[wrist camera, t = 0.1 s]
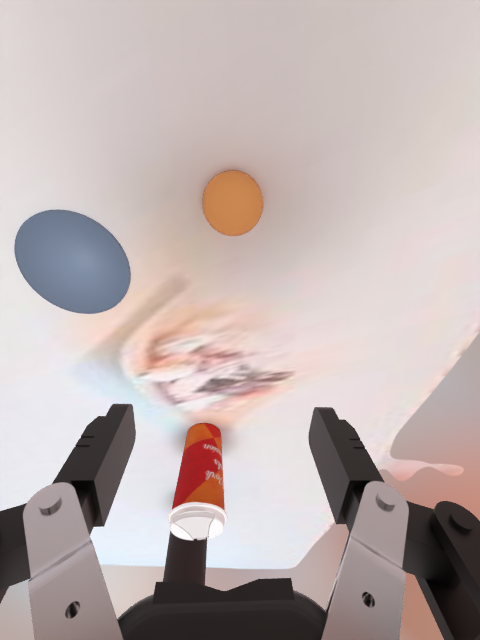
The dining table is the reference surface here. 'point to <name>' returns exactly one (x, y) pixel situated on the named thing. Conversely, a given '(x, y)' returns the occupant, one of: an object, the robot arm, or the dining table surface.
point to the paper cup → (199, 486)
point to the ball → (232, 203)
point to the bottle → (185, 560)
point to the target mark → (72, 261)
